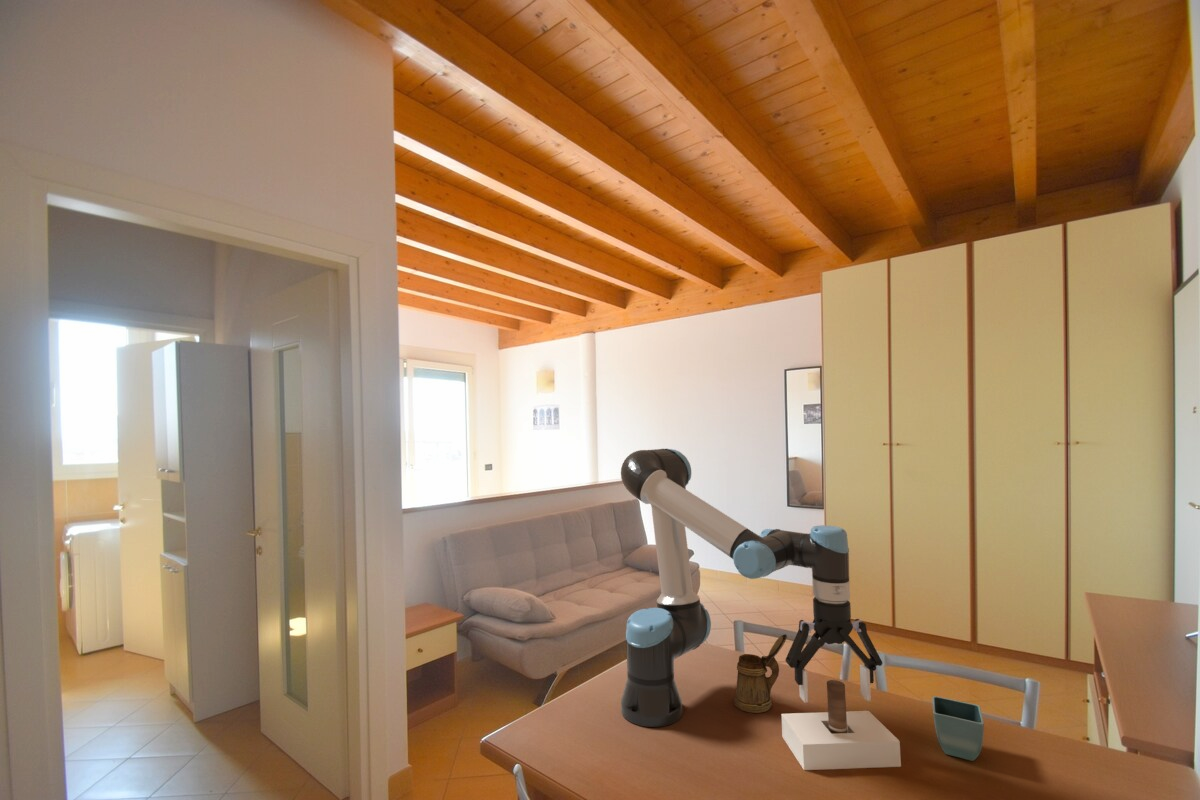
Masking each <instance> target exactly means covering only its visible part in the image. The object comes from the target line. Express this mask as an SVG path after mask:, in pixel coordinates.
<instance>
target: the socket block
mask: <svg viewBox="0 0 1200 800" xmlns="http://www.w3.org/2000/svg"><path fill="white" fill-rule="evenodd" d="M780 715H781V735H782V739H783V740H784V742H785V743H786V745H787V746H788V748H789V749H790V751H791V752H792V754H793V755H794V757H795V758H796V760H797V762H798V763H799V764H800V766H801V767H802V769H803V770H804V771H814V770H815V771H816V770H817V771H820V770H822V771H823V770H843V769H844V770H845V769H850V770H851V769H867V768H868V769H870V768H871V769H873V768H900V767H902V762H901V758H902V757H901V745H900V744H901V742H900V740H899V738H897V737H896V736H895V735H894V734H893V733H892V732H891V731H890V730H889V729H888V728H887V727H886V726H885V725H884V724H883V723H882V722H881V721H879V719H878V718H877V717H876V716H875V715H873V714H872V712H870V711H869V710H857V711H855V710H852V711H851V710H850V711H846V718H847V733H836V734H831V733H830V731H829V720H828V711H825V712H822V711H821V712H795V713H781V714H780Z"/></svg>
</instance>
